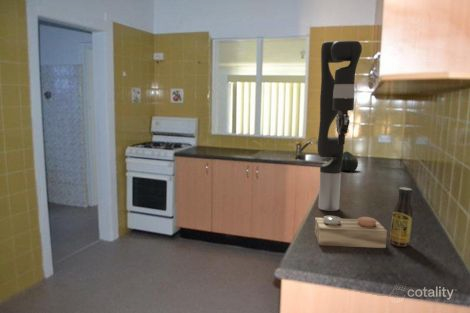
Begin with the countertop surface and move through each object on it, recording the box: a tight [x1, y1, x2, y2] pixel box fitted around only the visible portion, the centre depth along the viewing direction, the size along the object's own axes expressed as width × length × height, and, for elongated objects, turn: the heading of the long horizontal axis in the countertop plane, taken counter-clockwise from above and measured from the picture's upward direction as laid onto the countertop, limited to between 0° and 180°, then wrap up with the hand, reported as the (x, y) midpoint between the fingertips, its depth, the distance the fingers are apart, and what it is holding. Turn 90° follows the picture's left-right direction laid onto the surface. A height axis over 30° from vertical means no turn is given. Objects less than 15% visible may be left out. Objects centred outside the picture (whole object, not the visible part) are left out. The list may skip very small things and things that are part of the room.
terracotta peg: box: [357, 216, 377, 227], centre depth 130 cm, size 6×6×8 cm
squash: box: [341, 150, 359, 173], centre depth 274 cm, size 14×15×15 cm
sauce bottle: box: [389, 186, 414, 248], centre depth 127 cm, size 7×6×20 cm
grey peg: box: [322, 215, 342, 226], centre depth 131 cm, size 6×6×8 cm
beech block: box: [314, 217, 388, 249], centre depth 131 cm, size 12×22×6 cm, turn 86°
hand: (341, 144), depth 138 cm, fingers closed
